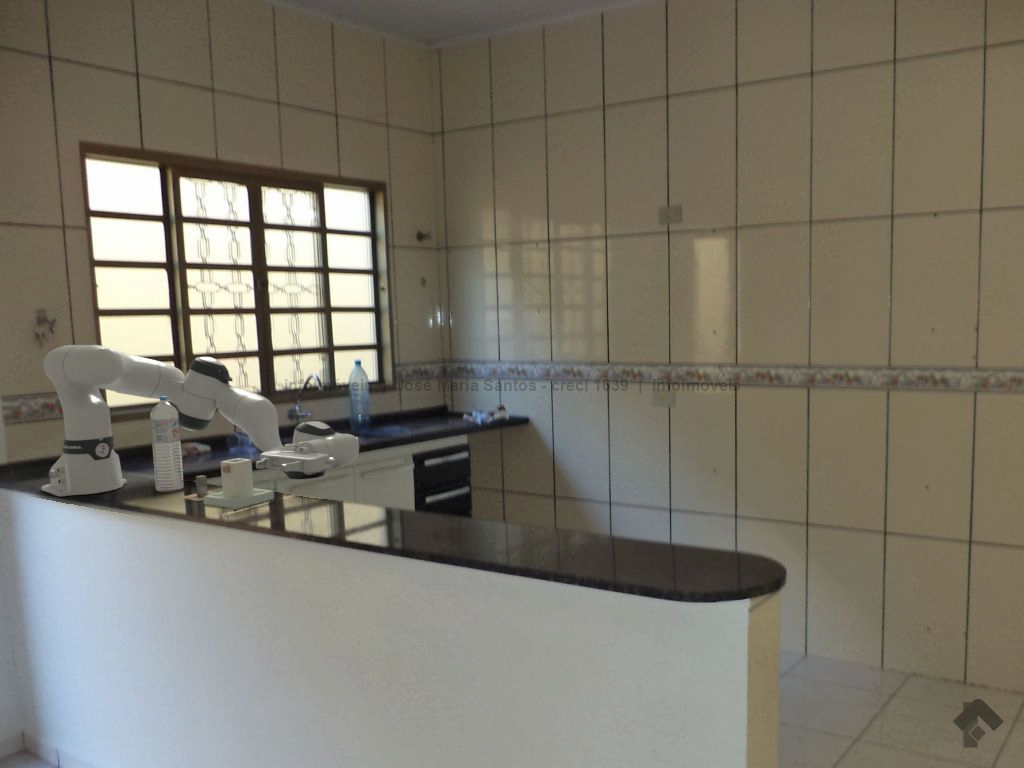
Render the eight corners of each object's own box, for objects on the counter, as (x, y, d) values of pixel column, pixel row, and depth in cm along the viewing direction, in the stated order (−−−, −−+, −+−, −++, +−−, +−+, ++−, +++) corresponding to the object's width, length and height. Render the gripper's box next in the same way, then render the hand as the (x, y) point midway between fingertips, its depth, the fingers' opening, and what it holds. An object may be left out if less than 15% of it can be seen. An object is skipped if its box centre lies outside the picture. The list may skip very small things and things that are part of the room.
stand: (178, 500, 208) (177, 478, 208) (205, 493, 215) (204, 472, 214) (199, 503, 204) (197, 480, 203) (226, 496, 211) (224, 474, 210)
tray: (204, 506, 200) (203, 496, 200) (243, 496, 210) (242, 486, 210) (235, 511, 194) (235, 500, 194) (274, 500, 204) (273, 490, 203)
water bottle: (171, 487, 224) (164, 395, 222) (189, 489, 221) (183, 395, 219) (150, 492, 218) (142, 397, 216) (169, 494, 215) (161, 398, 213)
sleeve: (220, 503, 200) (217, 462, 199) (240, 498, 205) (237, 458, 204) (234, 505, 197) (231, 463, 196) (254, 500, 202) (251, 459, 201)
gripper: (340, 472, 216) (300, 482, 204) (285, 466, 227) (244, 475, 215) (339, 447, 215) (298, 457, 203) (284, 443, 226) (242, 451, 215)
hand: (270, 466), depth 209 cm, fingers open, 8 cm apart
